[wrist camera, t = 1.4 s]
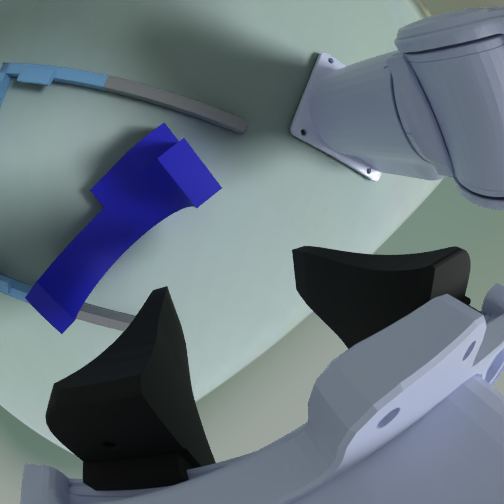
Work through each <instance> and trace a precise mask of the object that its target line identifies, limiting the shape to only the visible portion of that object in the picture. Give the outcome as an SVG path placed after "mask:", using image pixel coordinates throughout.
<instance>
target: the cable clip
mask: <svg viewBox="0 0 504 504" xmlns="http://www.w3.org/2000/svg"><path fill="white" fill-rule="evenodd" d="M220 189H222V187H221V186H220V185H219V183H218V182H217V181H216V179H215V178H214V177H213V176H212V174H211V173H210V172H209V170H208V169H207V168H206V166H205V165H204V164H203V162H202V161H201V160H200V158H199V157H198V156H197V154H196V153H195V152H194V151H193V149H192V148H191V147H190V145H189V144H188V143H187V141H186V140H185V139H184V138H183V139H182V140H180V141H178V140H177V138H176V137H175V136H174V135H173V133H172V132H171V131H170V129H169V128H168V127H167V126H166V124H165V123H163V124H162V125H160V126H159V127H158V128H156V129H155V130H154V131H152V132H151V133H150V134H149V135H147V136H146V137H145V138H144V139H142V140H141V141H140V142H139V143H137V144H136V145H135V146H134V147H133V148H132V149H130V150H129V151H128V152H127V153H126V154H125V155H124V156H123V157H122V158H121V159H120V160H119V161H118V162H117V163H116V165H115V166H114V167H113V168H112V169H111V170H110V171H109V172H108V173H107V174H106V175H105V176H104V177H103V178H102V179H101V180H100V181H99V182H98V183H97V184H96V185H95V186H94V187H93V188H92V189H91V190H90V191H91V192H92V193H93V194H94V196H95V197H96V198H97V199H98V201H99V202H100V203H101V204H102V205H103V207H104V209H103V210H102V211H101V212H100V213H99V214H98V215H97V216H96V217H95V218H94V219H93V220H92V221H91V222H90V223H89V224H88V225H87V226H86V227H85V228H84V229H83V230H82V231H81V232H80V233H79V234H78V235H77V236H76V237H75V239H74V240H73V241H72V242H71V243H70V244H69V245H68V246H67V247H66V248H65V249H64V251H63V252H62V253H61V254H60V255H59V256H58V257H57V258H56V260H55V261H54V262H53V263H52V264H51V265H50V267H49V268H48V269H47V270H46V271H45V272H44V274H43V275H42V276H41V277H40V278H39V280H38V281H37V282H36V283H35V285H34V286H33V287H32V289H31V290H30V291H29V293H28V294H27V296H26V297H25V299H26V300H27V301H28V302H29V303H30V304H31V305H32V306H33V307H34V308H35V309H36V310H37V311H38V312H39V313H40V314H41V315H42V316H43V317H44V318H45V319H46V320H47V321H48V322H49V323H50V324H51V325H52V326H53V327H55V328H56V329H57V330H58V331H59V332H60V333H61V334H62V333H63V332H64V331H65V330H66V329H67V328H68V327H69V326H70V325H71V324H72V323H73V322H74V321H75V319H76V317H77V315H78V313H79V311H80V309H81V307H82V305H83V304H84V302H85V300H86V299H87V297H88V296H89V294H90V293H91V291H92V290H93V288H94V287H95V286H96V284H97V283H98V282H99V280H100V279H101V278H102V277H103V275H104V274H105V273H106V272H107V271H108V269H109V268H110V267H111V266H112V265H113V264H114V263H115V262H116V260H117V259H118V258H119V257H120V256H121V255H122V254H123V253H124V252H125V251H126V250H127V249H128V248H129V247H130V246H131V245H132V244H133V243H135V242H136V241H137V240H138V239H139V238H140V237H141V236H142V235H144V234H145V233H146V232H147V231H148V230H150V229H151V228H152V227H154V226H155V225H156V224H158V223H159V222H160V221H162V220H163V219H165V218H166V217H168V216H169V215H171V214H173V213H175V212H177V211H179V210H181V209H183V208H186V207H190V206H194V207H196V208H198V207H199V206H200V205H201V204H203V203H204V202H205V201H206V200H208V199H209V198H210V197H211V196H213V195H214V194H215V193H216V192H218V191H219V190H220Z"/></svg>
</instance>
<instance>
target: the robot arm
mask: <svg viewBox="0 0 504 504" xmlns="http://www.w3.org/2000/svg"><path fill="white" fill-rule="evenodd" d="M394 42H395V45H396V47H397V48H398V50H397V51H394V52H390V53H387V54H383V55H380V56H376V57H373V58H370V59H367V60H364V61H361V62H358V63H355V64H352V65H349V66H345V65H344V64H342V63H341V62H339V61H338V60H336V59H335V58H333V57H332V56H330V55H329V54H327V53H324V52H323V53H321V54H319V56H318V58H317V61H316V63H315V66H314V68H313V71H312V73H311V76H310V78H309V81H308V83H307V86H306V88H305V91H304V93H303V96H302V99H301V101H300V104H299V106H298V109H297V111H296V114H295V116H294V119H293V122H292V124H291V127H290V132H291V134H292V135H294V136H295V137H297V138H299V139H301V140H303V141H305V142H307V143H309V144H311V145H313V146H314V147H316V148H318V149H320V150H322V151H324V152H325V153H327V154H329V155H331V156H332V157H334V158H336V159H338V160H339V161H341V162H343V163H344V164H346V165H348V166H349V167H351V168H353V169H354V170H356V171H358V172H359V173H361V174H362V175H364V176H366V177H367V178H369V179H370V180H372V181H378V180H379V178H380V175H381V172H383V173H390V174H396V175H402V176H408V177H414V178H419V179H424V180H439V179H442V178H444V177H446V176H448V177H453V178H454V181H455V184H456V187H457V189H458V190H459V192H460V193H461V194H462V195H463V196H464V197H465V198H466V199H467V200H469V201H470V202H472V203H474V204H477V205H479V206H482V207H485V208H490V209H495V210H496V209H497V210H504V7H487V8H468V9H461V10H456V11H451V12H447V13H442V14H438V15H435V16H431V17H428V18H425V19H422V20H419V21H416V22H414V23H411V24H409V25H406V26H404V27H402V28H400V29H399V30H398V34H397V38H396V39H395V41H394ZM328 59H329V60H330V61H331V63H329V61H328ZM301 130H303V131H304V132H305V133H304V136H303V135H302V134H301ZM367 169H368V173H367ZM292 253H293V262H294V271H295V280H296V290H297V291H298V293H299V294H300V296H301V297H302V298H303V300H304V301H305V302H306V304H307V305H308V306H309V307H310V308H311V309H312V310H313V311H314V312H315V313H316V314H317V315H318V316H319V317H320V318H321V319H322V320H323V321H324V322H325V323H326V324H327V325H328V326H329V327H330V328H331V329H332V330H333V331H334V332H335V333H336V334H337V335H338V336H339V338H340V339H341V340H342V341H343V342H344V343H345V345H346V346H347V347H348V350H347V351H345V352H344V353H343V354H341V355H340V356H338V357H337V358H335V359H334V360H333V361H332V362H331V363H330V364H329V366H328V367H327V368H326V369H325V370H324V371H323V373H322V374H321V375H320V376H319V377H318V378H317V380H316V381H315V384H314V387H313V390H312V393H311V396H310V399H309V402H308V422H307V423H305V424H303V425H302V426H300V427H299V428H297V429H295V430H294V431H292V432H291V433H289V434H287V435H285V436H284V437H282V438H280V439H278V440H277V441H275V442H273V443H271V444H269V445H267V446H266V447H264V448H262V449H260V450H258V451H256V452H253V453H250V454H246V455H243V456H240V457H237V458H233V459H230V460H226V461H222V462H219V463H216V462H215V460H214V457H213V455H212V452H211V449H210V447H209V444H208V441H207V439H206V435H205V432H204V429H203V426H202V423H201V420H200V417H199V414H198V411H197V407H196V404H195V400H194V396H193V392H192V387H191V380H190V373H189V365H188V357H187V349H186V343H185V339H184V334H183V330H182V326H181V324H180V321H179V318H178V316H177V313H176V310H175V307H174V305H173V302H172V299H171V296H170V293H169V290H168V287H167V286H166V287H163V288H159V289H156V290H153V291H152V293H151V294H150V296H149V297H148V299H147V300H146V302H145V303H144V305H143V306H142V308H141V310H140V311H139V313H138V314H137V315H136V317H135V318H134V319H133V321H132V322H131V323H130V325H129V326H128V327H127V329H126V330H125V331H124V332H123V333H122V334H121V335H120V336H119V338H118V339H117V340H116V341H115V342H114V343H113V344H112V345H110V346H109V347H108V348H107V349H106V350H105V351H104V352H102V353H101V354H100V355H99V356H98V357H97V358H95V359H94V360H93V361H91V362H90V363H89V364H87V365H86V366H84V367H83V368H81V369H80V370H78V371H76V372H75V373H73V374H71V375H69V376H68V377H66V378H64V379H62V380H60V381H58V382H56V383H54V385H53V389H52V392H51V396H50V400H49V404H48V408H47V412H46V423H47V425H48V427H49V429H50V431H51V432H52V433H53V435H54V436H55V437H56V438H57V439H58V440H59V441H60V442H61V443H62V444H63V445H65V446H66V447H67V448H68V449H69V450H70V451H71V452H73V453H74V454H75V455H76V456H77V457H79V458H80V459H81V460H82V461H83V479H69V478H67V477H66V476H65V475H64V474H63V473H62V472H60V471H59V470H57V469H55V468H53V467H50V466H46V465H36V464H25V465H24V471H23V479H22V489H21V503H20V504H504V396H503V395H502V394H501V393H500V392H498V391H497V390H496V389H495V388H494V387H492V386H493V385H494V383H495V382H496V380H497V379H498V377H499V376H500V374H501V373H502V372H503V370H504V286H502V285H500V284H498V283H496V284H495V285H494V286H493V287H492V288H491V289H490V290H489V291H488V293H487V294H486V296H485V298H484V301H483V305H482V310H481V311H478V310H476V309H475V308H473V307H471V306H470V305H469V304H470V301H471V300H470V298H468V297H466V296H465V292H466V288H467V283H468V279H469V274H470V258H469V254H468V253H467V251H465V250H463V249H461V248H459V247H449V248H445V249H440V250H436V251H431V252H424V253H417V254H405V255H372V254H361V253H352V252H345V251H339V250H333V249H327V248H321V247H313V246H303V247H300V248H297V249H293V250H292Z"/></svg>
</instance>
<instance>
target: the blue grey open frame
mask: <svg viewBox="0 0 504 504" xmlns="http://www.w3.org/2000/svg"><path fill="white" fill-rule="evenodd" d="M12 77H18V78H17V81H18V82H23V83H32V84H40V85H47V86H50V85H51V83H52V81H56V82H63V83H69V84H74V85H80V86H85V87H90V88H94V89H99V90H104V91H108V92H112V93H116V94H120V95H124V96H128V97H132V98H136V99H139V100H143V101H146V102H150V103H153V104H157V105H160V106H163V107H166V108H170V109H173V110H176V111H179V112H182V113H185V114H188V115H191V116H194V117H197V118H199V119H202V120H205V121H208V122H210V123H213V124H216V125H218V126H221V127H224V128H226V129H229V130H231V131H234V132H236V133H239V134H241V133H244V132H245V130H246V128H247V125H248V123H249V121H247V120H245V119H242V118H240V117H237V116H235V115H233V114H230V113H228V112H225V111H222V110H220V109H217V108H215V107H212V106H209V105H207V104H204V103H201V102H198V101H196V100H193V99H190V98H187V97H184V96H181V95H178V94H175V93H172V92H168V91H165V90H162V89H158V88H155V87H152V86H148V85H144V84H141V83H137V82H133V81H129V80H125V79H121V78H117V77H112V76H108V75H103V74H98V73H93V72H88V71H82V70H76V69H70V68H63V67H55V66H47V65H37V64H23V63H3V65H2V67H1V69H0V106H1V103H2V100H3V98H4V95H5V92H6V90H7V87H8V85H9V83H10V80H11V78H12ZM32 287H33V286H30V285H27V284H24V283H22V282H19V281H16V280H14V279H11V278H8V277H6V276H3V275H1V274H0V292H2V293H4V294H6V295H9V296H11V297H14V298H17V299H19V300H22V301H25V302H27V303H29V302H28V301H27V300H26V299H25V297H26V296H27V294H28V293H29V291H30V290H31V289H32ZM135 317H136V316H133V315H129V314H124V313H120V312H116V311H112V310H109V309H105V308H101V307H97V306H94V305H90V304H86V303H84V304H83V305H82V307H81V309H80V311H79V313H78V315H77V317H76V319H79V320H83V321H86V322H90V323H94V324H97V325H101V326H105V327H109V328H113V329H117V330H121V331H125V330H126V329H127V327H128V326H129V325H130V323H131V322H132V321H133V319H134V318H135Z"/></svg>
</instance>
